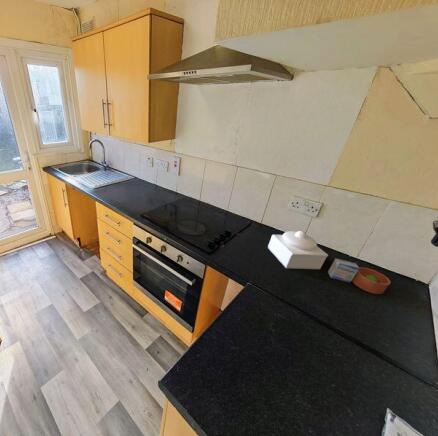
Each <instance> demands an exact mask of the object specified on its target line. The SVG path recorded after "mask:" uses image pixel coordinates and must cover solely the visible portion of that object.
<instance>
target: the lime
mask: <svg viewBox="0 0 438 436" xmlns="http://www.w3.org/2000/svg"><path fill="white" fill-rule="evenodd" d="M364 277H366V278H367V279H369V280H372V281H374V282H377V283H378V280H377V278H376V277H374V276H372V275H365V276H364Z"/></svg>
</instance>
